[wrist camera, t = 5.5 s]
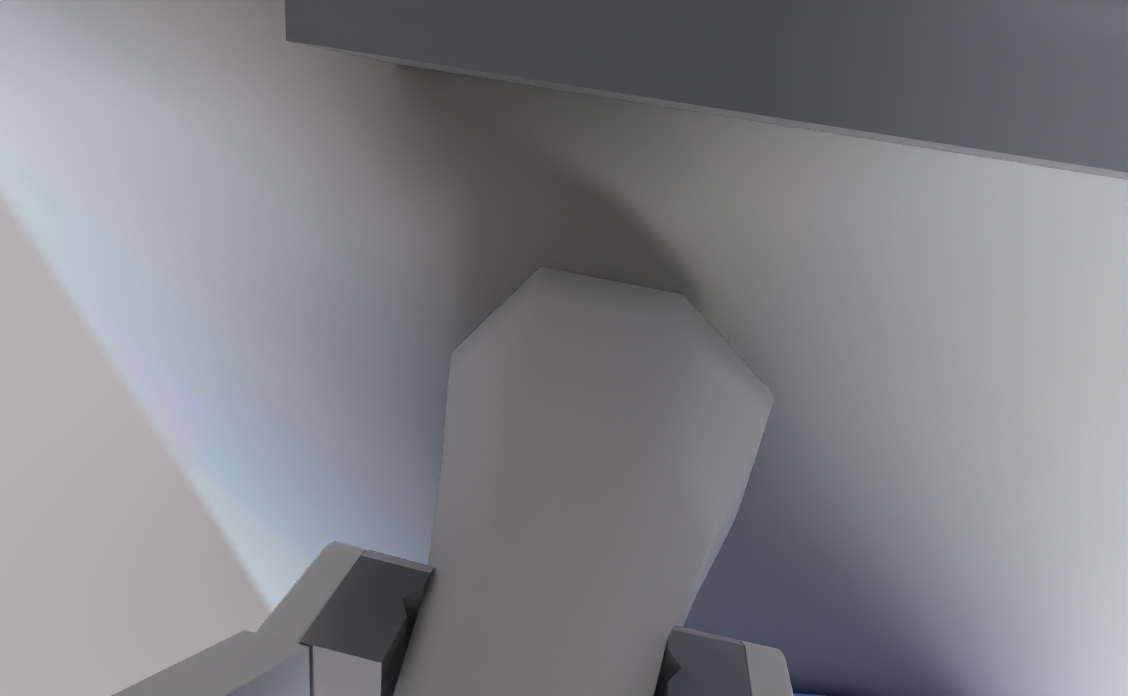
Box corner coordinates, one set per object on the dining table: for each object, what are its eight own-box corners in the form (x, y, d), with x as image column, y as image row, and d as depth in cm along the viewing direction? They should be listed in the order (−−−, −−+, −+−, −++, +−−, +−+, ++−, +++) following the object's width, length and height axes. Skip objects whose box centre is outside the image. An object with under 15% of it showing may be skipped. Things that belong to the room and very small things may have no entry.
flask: (656, 602, 15) (615, 1399, 6) (402, 464, 15) (-65, 1042, 5) (839, 376, 12) (1383, 1265, 3) (523, 202, 12) (-38, 501, 3)
